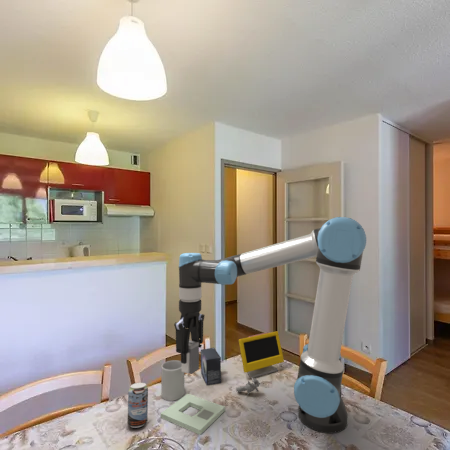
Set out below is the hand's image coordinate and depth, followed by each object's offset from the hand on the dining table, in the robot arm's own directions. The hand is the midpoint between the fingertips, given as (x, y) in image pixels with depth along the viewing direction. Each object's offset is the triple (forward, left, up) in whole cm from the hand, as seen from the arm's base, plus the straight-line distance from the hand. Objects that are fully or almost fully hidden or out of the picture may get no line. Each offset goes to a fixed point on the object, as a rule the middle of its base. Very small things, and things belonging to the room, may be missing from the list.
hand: (190, 369), depth 101 cm
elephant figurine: (-12, -20, -15) cm, 27 cm away
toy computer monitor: (-7, -39, -15) cm, 42 cm away
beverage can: (+11, +13, -15) cm, 22 cm away
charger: (0, 0, 0) cm, 0 cm away
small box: (+8, -23, -15) cm, 28 cm away
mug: (+14, -7, -15) cm, 21 cm away
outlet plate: (-1, 0, -15) cm, 15 cm away
